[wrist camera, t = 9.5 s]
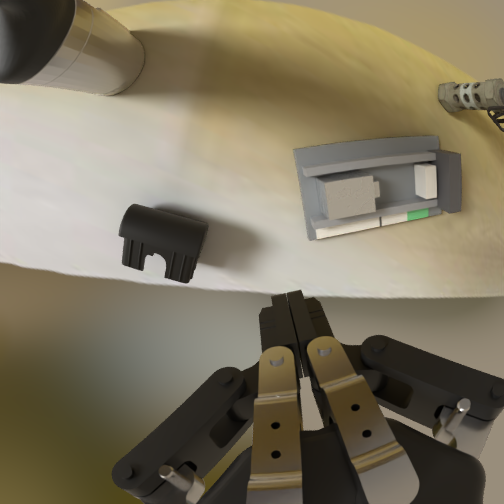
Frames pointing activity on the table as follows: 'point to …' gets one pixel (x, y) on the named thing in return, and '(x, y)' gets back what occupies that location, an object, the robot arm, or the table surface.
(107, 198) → the table surface
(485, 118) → the table surface
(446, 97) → the grenade model
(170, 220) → the end cap
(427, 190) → the white upright block
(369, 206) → the grey textured block
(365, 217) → the gauge board
